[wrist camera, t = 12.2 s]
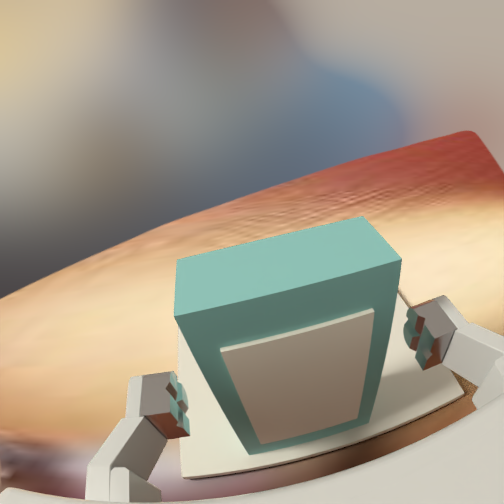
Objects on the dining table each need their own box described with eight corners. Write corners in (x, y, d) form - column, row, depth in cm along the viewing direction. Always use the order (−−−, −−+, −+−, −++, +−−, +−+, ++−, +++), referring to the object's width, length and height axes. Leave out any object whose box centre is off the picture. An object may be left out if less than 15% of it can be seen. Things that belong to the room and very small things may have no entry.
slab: (249, 458, 13) (173, 320, 8) (241, 413, 15) (176, 259, 10) (369, 425, 13) (404, 262, 8) (352, 384, 15) (362, 216, 10)
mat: (184, 479, 13) (181, 477, 13) (180, 300, 24) (178, 297, 24) (462, 396, 13) (464, 392, 13) (366, 255, 25) (366, 251, 25)
